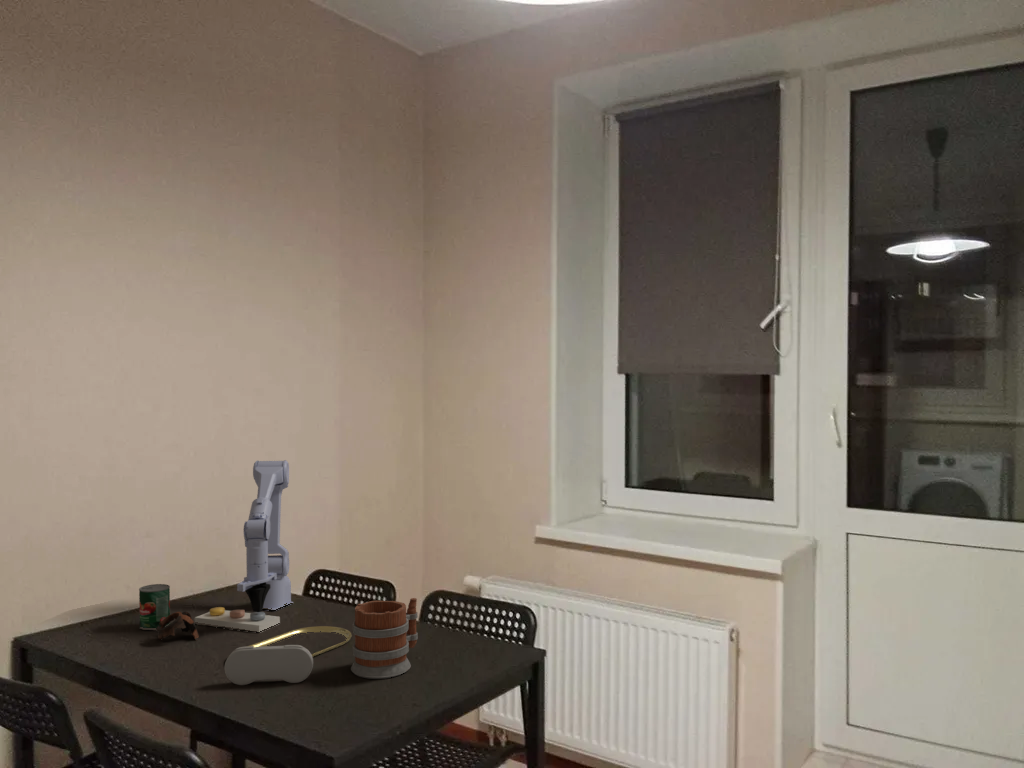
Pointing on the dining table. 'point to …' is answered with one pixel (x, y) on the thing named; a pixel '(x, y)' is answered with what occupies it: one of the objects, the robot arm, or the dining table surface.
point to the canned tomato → (154, 604)
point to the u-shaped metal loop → (305, 630)
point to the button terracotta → (237, 613)
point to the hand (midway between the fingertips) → (257, 611)
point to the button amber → (217, 611)
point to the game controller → (269, 664)
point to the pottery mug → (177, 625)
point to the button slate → (257, 616)
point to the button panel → (238, 621)
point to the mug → (383, 638)
